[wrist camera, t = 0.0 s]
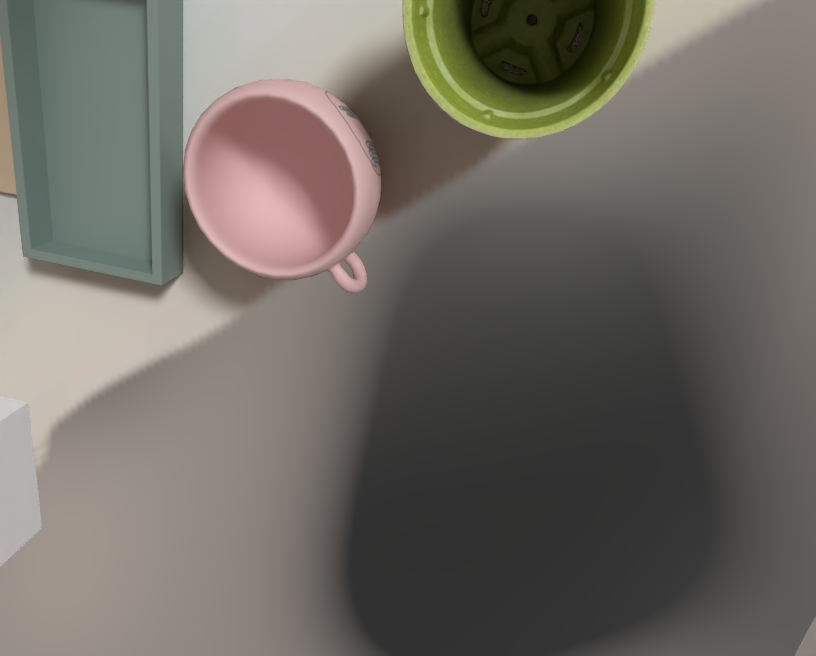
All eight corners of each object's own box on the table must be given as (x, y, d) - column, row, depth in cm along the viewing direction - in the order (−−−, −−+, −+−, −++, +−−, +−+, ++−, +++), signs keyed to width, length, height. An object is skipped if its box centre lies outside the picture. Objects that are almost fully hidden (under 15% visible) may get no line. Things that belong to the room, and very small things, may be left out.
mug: (194, 140, 38) (137, 155, 33) (327, 37, 35) (287, 34, 30) (313, 309, 41) (277, 348, 36) (447, 230, 38) (430, 260, 32)
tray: (25, -57, 36) (-11, -64, 34) (182, -34, 35) (157, -40, 33) (50, 245, 43) (23, 256, 41) (182, 273, 42) (161, 285, 40)
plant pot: (411, 83, 35) (371, 92, 27) (475, -121, 31) (449, -179, 23) (579, 145, 34) (588, 173, 27) (665, -53, 30) (705, -90, 23)
